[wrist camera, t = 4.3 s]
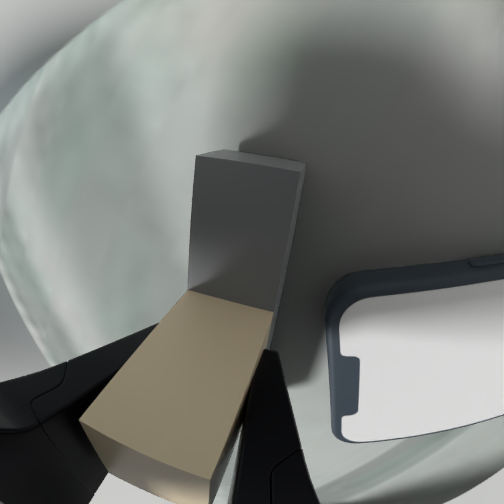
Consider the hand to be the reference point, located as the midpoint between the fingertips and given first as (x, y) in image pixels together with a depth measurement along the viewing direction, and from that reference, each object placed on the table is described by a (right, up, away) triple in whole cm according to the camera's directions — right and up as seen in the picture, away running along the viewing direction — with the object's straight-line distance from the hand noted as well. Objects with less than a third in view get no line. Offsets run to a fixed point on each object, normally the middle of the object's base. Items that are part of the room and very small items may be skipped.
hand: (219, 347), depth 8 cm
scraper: (+1, +1, +2) cm, 3 cm away
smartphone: (+12, -1, +1) cm, 12 cm away
